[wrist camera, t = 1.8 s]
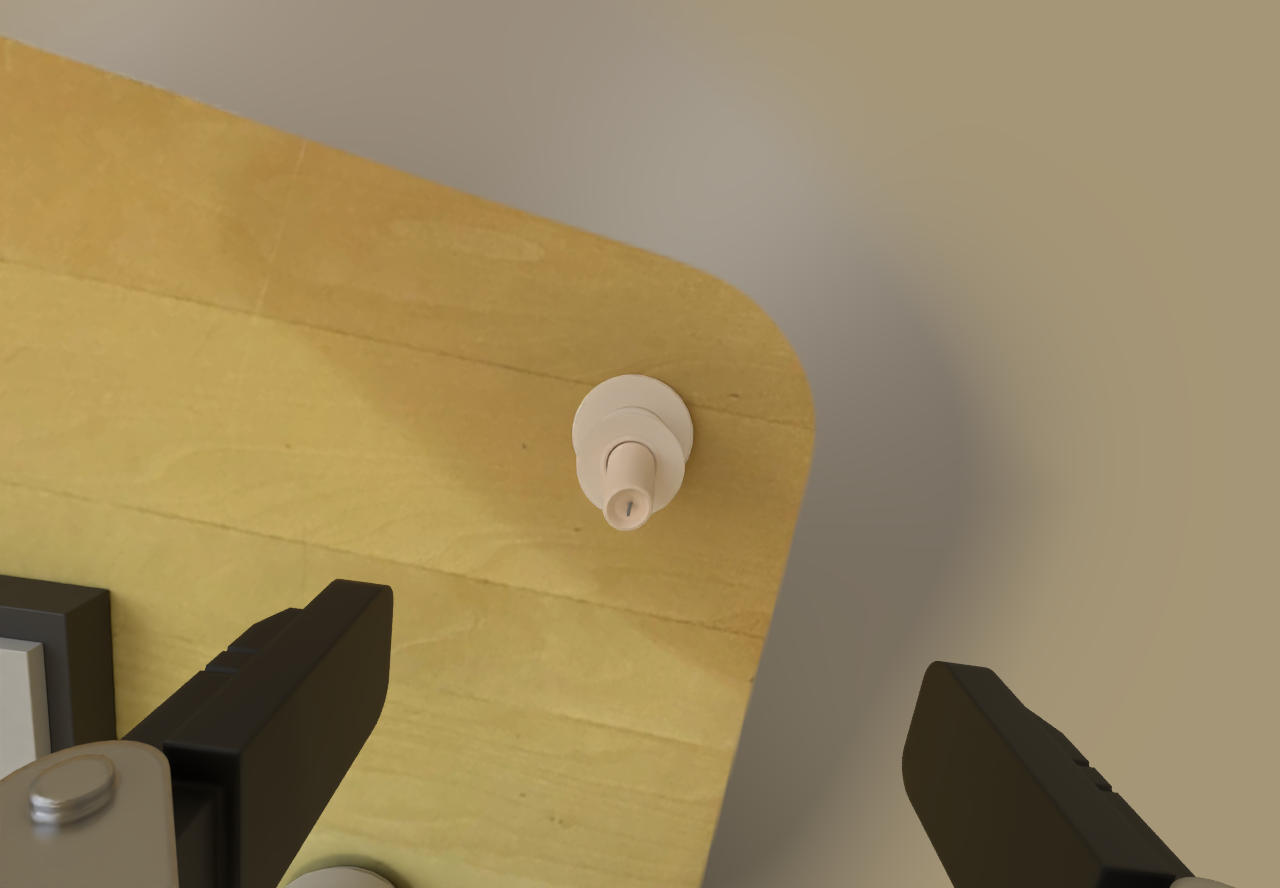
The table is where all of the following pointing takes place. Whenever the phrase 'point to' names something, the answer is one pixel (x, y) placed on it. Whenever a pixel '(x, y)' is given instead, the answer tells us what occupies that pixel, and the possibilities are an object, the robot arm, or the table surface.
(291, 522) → the table surface
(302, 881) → the can
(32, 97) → the table surface
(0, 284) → the table surface
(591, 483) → the candle
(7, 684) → the scale
